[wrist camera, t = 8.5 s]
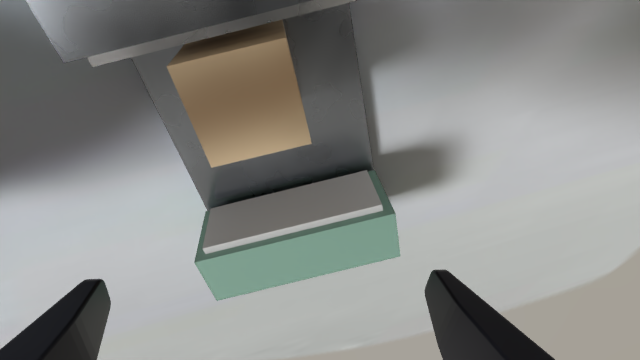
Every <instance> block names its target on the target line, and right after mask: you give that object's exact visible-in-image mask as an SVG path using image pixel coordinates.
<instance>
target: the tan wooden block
mask: <svg viewBox="0 0 640 360" xmlns="http://www.w3.org/2000/svg"><path fill="white" fill-rule="evenodd" d="M167 69H168V71H169V73H170V75H171V78H172V80H173V82H174V84H175V87H176V89H177V91H178V93H179V96H180V98H181V100H182V102H183V105H184V107H185V109H186V112H187V114H188V116H189V118H190V121H191V123H192V125H193V127H194V130H195V132H196V134H197V136H198V139H199V141H200V143H201V145H202V148H203V150H204V152H205V154H206V157H207V159H208V161H209V164H210V166H211V168H213V167H217V166H221V165H225V164H229V163H233V162H238V161H242V160H246V159H250V158H254V157H258V156H262V155H267V154H271V153H275V152H279V151H283V150H287V149H292V148H296V147H300V146H304V145H308V144H312V143H311V138H310V134H309V130H308V125H307V121H306V116H305V112H304V108H303V103H302V99H301V95H300V91H299V86H298V82H297V78H296V74H295V70H294V66H293V62H292V58H291V53H290V49H289V45H288V41H287V37H286V33H285V29H284V25H283V20H278V21H274V22H270V23H266V24H262V25H258V26H255V27H251V28H247V29H243V30H239V31H235V32H231V33H227V34H223V35H219V36H215V37H211V38H207V39H203V40H199V41H195V42H191V43H187V44H184V45H183V47H182V48H181V49H180V50H179V52H178V53H177V54H176V55H175V57H174V58H173V59H172V60H171V62H170V63H169V64H168V65H167Z"/></svg>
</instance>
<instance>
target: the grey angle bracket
mask: <svg viewBox="0 0 640 360" xmlns="http://www.w3.org/2000/svg"><path fill="white" fill-rule="evenodd" d="M25 1H26V2H27V4H28V6H29V7H30V9H31V10H32V12H33V14H34V15H35V17H36V19H37V20H38V22H39V24H40V25H41V27H42V29H43V30H44V32H45V33H46V35H47V37H48V38H49V40H50V42H51V43H52V45H53V47H54V48H55V50H56V51H57V53H58V55H59V56H60V58H61V60H62V61H63V63H67V62H71V61H75V60H79V59H82V58H86V57H87V59H88V60H89V62H90V64H91V66H92V67H96V66H100V65H104V64H108V63H112V62H116V61H119V60H123V59H127V58H132V60H133V62H134V64H135V66H136V68H137V70H138V72H139V74H140V76H141V78H142V80H143V82H144V84H145V86H146V88H147V90H148V92H149V94H150V96H151V98H152V100H153V102H154V104H155V106H156V108H157V110H158V112H159V114H160V116H161V118H162V120H163V122H164V124H165V126H166V128H167V130H168V132H169V134H170V136H171V138H172V140H173V142H174V144H175V146H176V148H177V150H178V152H179V154H180V156H181V158H182V160H183V162H184V164H185V166H186V168H187V170H188V172H189V174H190V176H191V178H192V180H193V182H194V184H195V186H196V188H197V190H198V192H199V194H200V196H201V198H202V200H203V202H204V204H205V206H206V208H207V210H208V211H210V210H211V208H215V207H219V206H223V205H227V204H231V203H235V202H239V201H243V200H247V199H251V198H255V197H259V196H264V195H268V194H272V193H276V192H280V191H284V190H288V189H292V188H296V187H300V186H304V185H308V184H312V183H316V182H320V181H324V180H328V179H333V178H337V177H341V176H345V175H349V174H353V173H357V172H361V171H365V170H367V172H369V171H373V170H374V169H373V162H372V155H371V149H370V142H369V135H368V128H367V122H366V115H365V108H364V101H363V95H362V88H361V81H360V74H359V68H358V61H357V54H356V48H355V41H354V34H353V27H352V21H351V14H350V7H349V3H350V2H354V1H356V0H25ZM278 20H283V25H284V29H285V33H286V37H287V41H288V45H289V49H290V53H291V58H292V62H293V66H294V70H295V74H296V78H297V82H298V86H299V91H300V95H301V99H302V103H303V108H304V112H305V116H306V121H307V125H308V130H309V134H310V138H311V143H312V144H308V145H304V146H300V147H296V148H292V149H287V150H283V151H279V152H275V153H271V154H267V155H262V156H258V157H254V158H250V159H246V160H242V161H238V162H233V163H229V164H225V165H221V166H217V167H213V168H211V166H210V164H209V161H208V159H207V157H206V154H205V152H204V150H203V148H202V145H201V143H200V141H199V139H198V136H197V134H196V132H195V130H194V127H193V125H192V123H191V121H190V118H189V116H188V114H187V112H186V109H185V107H184V105H183V102H182V100H181V98H180V96H179V93H178V91H177V89H176V87H175V84H174V82H173V80H172V78H171V75H170V73H169V71H168V69H167V65H168V64H169V63H170V62H171V60H172V59H173V58H174V57H175V55H176V54H177V53H178V52H179V50H180V49H181V48H182V47H183V45H184V44H187V43H191V42H195V41H199V40H203V39H207V38H211V37H215V36H219V35H223V34H227V33H231V32H235V31H239V30H243V29H247V28H251V27H255V26H258V25H262V24H266V23H270V22H274V21H278Z"/></svg>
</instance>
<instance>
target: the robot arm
mask: <svg viewBox="0 0 640 360" xmlns="http://www.w3.org/2000/svg"><path fill="white" fill-rule="evenodd" d="M425 297H426V301H427V305H428V309H429V313H430V317H431V321H432V324H433V328H434V332H435V336H436V340H437V343H438V347H439V349H440V352H441V355H442V358H443V360H555V359H554V358H553V357H551V356H550V355H549V354H548V353H547V352H545V351H544V350H543V349H542V348H541V347H539V346H538V345H537V344H536V343H534V342H533V341H532V340H531V339H530V338H528V337H527V336H526V335H525V334H524V333H522V332H521V331H520V330H519V329H518V328H516V327H515V326H514V325H513V324H511V323H510V322H509V321H508V320H507V319H505V318H504V317H503V316H502V315H501V314H499V313H498V312H497V311H496V310H495V309H493V308H492V307H491V306H490V305H489V304H487V303H486V302H485V301H484V300H483V299H481V298H480V297H479V296H478V295H476V294H475V293H474V292H473V291H472V290H470V289H469V288H468V287H467V286H466V285H464V284H463V283H462V282H461V281H460V280H458V279H457V278H456V277H455V276H453V275H452V274H451V273H450V272H449V271H447V270H433V271H432V272H431V274H430V277H429V279H428V282H427V285H426V287H425ZM110 305H111V301H110V297H109V294H108V291H107V288H106V285H105V282H104V281H103V280H102V279H87V280H84V281H82V282H81V283H80V284H79V285H77V286H76V287H75V288H74V289H73V290H71V291H70V292H69V293H68V294H67V295H65V296H64V297H63V298H62V299H61V300H59V301H58V302H57V303H56V304H55V305H53V306H52V307H51V308H50V309H48V310H47V311H46V312H45V313H44V314H42V315H41V316H40V317H39V318H38V319H36V320H35V321H34V322H33V323H32V324H30V325H29V326H28V327H27V328H26V329H24V330H23V331H22V332H21V333H20V334H18V335H17V336H16V337H15V338H14V339H12V340H11V341H10V342H9V343H7V344H6V345H5V346H4V347H3V348H1V349H0V360H97V356H98V353H99V349H100V345H101V341H102V337H103V334H104V330H105V326H106V322H107V318H108V315H109V311H110Z"/></svg>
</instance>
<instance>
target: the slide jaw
mask: <svg viewBox="0 0 640 360" xmlns="http://www.w3.org/2000/svg"><path fill="white" fill-rule="evenodd" d="M399 256H400V249H399V240H398V232H397V223H396V215H395V212H394V210H393V207H392V205H391V203H390V201H389V199H388V197H387V195H386V193H385V191H384V189H383V187H382V185H381V182H380V180H379V178H378V176H377V174H376V172H375V170H373V171H369V172H367V170H365V171H361V172H357V173H353V174H349V175H345V176H341V177H337V178H333V179H328V180H324V181H320V182H316V183H312V184H308V185H304V186H300V187H296V188H292V189H288V190H284V191H280V192H276V193H272V194H268V195H264V196H259V197H255V198H251V199H247V200H243V201H239V202H235V203H231V204H227V205H223V206H219V207H215V208H211V210H210V211H206V213H205V217H204V222H203V226H202V231H201V235H200V240H199V244H198V249H197V253H196V258H195V262H194V263H195V264H196V266H197V268H198V270H199V271H200V273H201V275H202V276H203V278H204V280H205V281H206V283H207V285H208V287H209V288H210V290H211V292H212V293H213V295H214V297H215V298H216V300H217V301H218V300H222V299H226V298H230V297H235V296H239V295H243V294H247V293H251V292H255V291H259V290H263V289H268V288H272V287H276V286H280V285H284V284H288V283H292V282H296V281H300V280H305V279H309V278H313V277H317V276H321V275H325V274H329V273H333V272H337V271H342V270H346V269H350V268H354V267H358V266H362V265H366V264H370V263H374V262H379V261H383V260H387V259H391V258H395V257H399Z"/></svg>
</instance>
